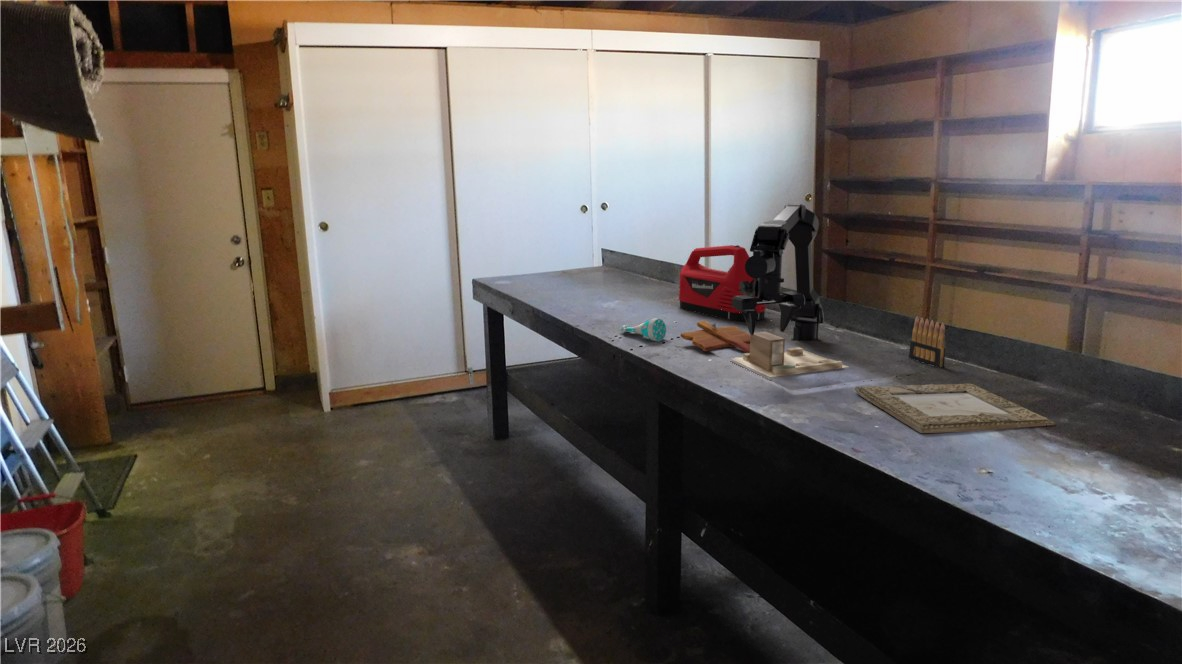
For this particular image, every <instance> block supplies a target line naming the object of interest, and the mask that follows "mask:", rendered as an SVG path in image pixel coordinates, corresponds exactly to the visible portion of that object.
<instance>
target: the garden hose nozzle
mask: <svg viewBox="0 0 1182 664" xmlns="http://www.w3.org/2000/svg"><path fill="white" fill-rule="evenodd" d="M666 326H667V325H666V323H665V321H664V320H663V319H661V318H656V317H655V318H651V319H648V320H646V321H645V322H642V323H640V324H638V325H636V326H635V325H634V326H632V327H631V326H628V325H627V324H625V325H622V326H621V327H620V331H621V332H623V333H628V332H629V333H630V332H631V333H633V334H637V335H641V336H643V338H645V339H646V340H649V341H652V342H662V341H663V340H664V339H665V337H666V334H667V327H666Z"/></svg>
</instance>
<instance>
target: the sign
mask: <svg viewBox="0 0 1182 664" xmlns="http://www.w3.org/2000/svg"><path fill="white" fill-rule="evenodd" d="M696 326H697V328H700V329H698V330H692V331H687V332H681V333H680V335H679V337H681V338H682V339H683V340H686V341H691V344H692V345H693V346H694V347H698V348H700V349H702V351H704V352H708V351H712V350H716V349H723V348H735V347H736V348H738V349H739V350H741V351H743V352H744V353H750V333H749V332H745V331H743V330H740V327H738V326H734V325H731V326H722V327H721V326H719V327H717V322H715V323H713V324H712V323H710V322H708V321H706V320H703V321H702V320H701V321H699V320H698V321H697V322H696Z"/></svg>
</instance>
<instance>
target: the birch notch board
mask: <svg viewBox="0 0 1182 664" xmlns="http://www.w3.org/2000/svg"><path fill="white" fill-rule="evenodd" d="M749 359H750V353H747V352H744V353H742V357H734V358H732V357H731V360H729V361H730V363H731V362H732V363H731V364H733V363H734V364H733V365H735V364H736V365H735V366H737V365H738V366H737V367H739V366H740V368H741V367H742V368H741V369H743V368H745V369H744V370H746V369H747V370H746V371H748V370H749V371H748V372H750V371H751V372H750V373H752V372H753V373H752V374H754V373H755V374H754V375H756V374H757V375H756V376H758V375H759V377H760V376H762V377H761V378H763V379H765V380H767V381H769V382H773V381H772V379H770V378H774V377H776V378H777V377H782V376H783V377H784V376H789V375H797V374H798V375H799V374H800V375H801V374H806V373H812V372H813V373H814V372H815V373H816V372H821V371H831V370H838V369H846V368H849V366H848V365H845V364H843V361H841V360H835V359H832V358H830V359H829V358H826V357H824V356H822V355H818V354H816V353H813V352H810V351H808V350H805V349H804V348H802V347H799V346H798V347H790V348H786V352H785V351H784V365H781V366H773V370H771V371H768V370H766V369H763V368H761V367H759V366H757V365H754V364H752V363H750V362H749ZM742 365H743V366H742ZM744 366H745V367H744ZM748 368H749V369H748ZM757 372H758V373H757ZM766 376H767V377H766Z"/></svg>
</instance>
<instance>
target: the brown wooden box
mask: <svg viewBox="0 0 1182 664" xmlns="http://www.w3.org/2000/svg"><path fill="white" fill-rule="evenodd" d="M749 345H750V359H749V362H750V363H752V364H754V365H757V366H759V367H761V368H763V369H766V370H768V371H771V370H773V366H781V365H784V352H785V350H786V349H785V347H786V338H784V337H781V336H779V335H776V334H774V333H773V334H772V333H770V332H768V331H757V332H754V335H750V344H749Z"/></svg>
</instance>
